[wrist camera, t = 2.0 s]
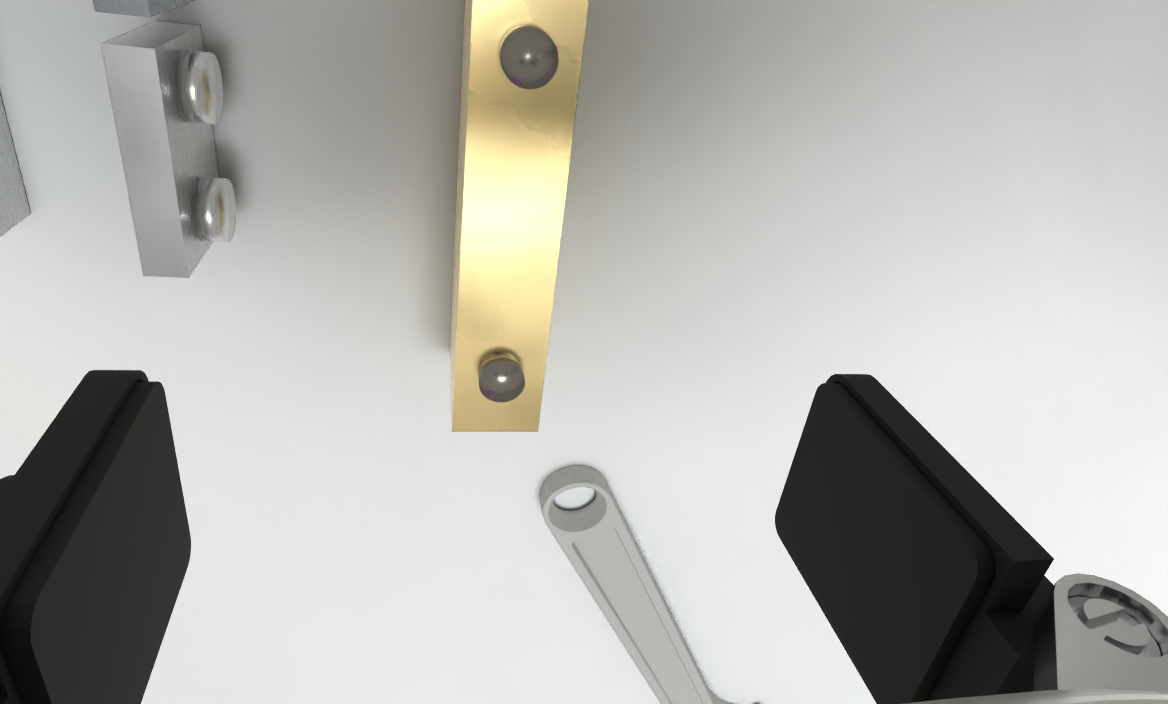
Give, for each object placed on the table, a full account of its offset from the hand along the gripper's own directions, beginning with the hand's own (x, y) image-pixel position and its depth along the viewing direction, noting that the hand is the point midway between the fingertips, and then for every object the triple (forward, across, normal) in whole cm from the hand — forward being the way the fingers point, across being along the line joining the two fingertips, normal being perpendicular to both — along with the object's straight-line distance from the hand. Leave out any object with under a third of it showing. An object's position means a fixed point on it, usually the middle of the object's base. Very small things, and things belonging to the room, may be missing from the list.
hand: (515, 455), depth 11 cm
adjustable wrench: (+13, -11, +21) cm, 27 cm away
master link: (+13, -1, 0) cm, 13 cm away
